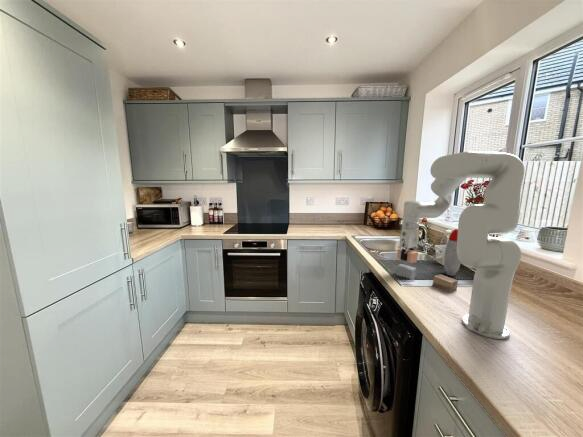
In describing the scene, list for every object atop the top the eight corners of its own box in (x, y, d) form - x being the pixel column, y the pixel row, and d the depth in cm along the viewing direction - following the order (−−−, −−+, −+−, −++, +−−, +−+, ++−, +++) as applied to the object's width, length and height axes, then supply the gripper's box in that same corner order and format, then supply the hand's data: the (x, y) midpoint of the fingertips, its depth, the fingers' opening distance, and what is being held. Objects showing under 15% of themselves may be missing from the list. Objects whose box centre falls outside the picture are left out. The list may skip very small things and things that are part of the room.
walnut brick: (450, 293, 105) (451, 282, 105) (432, 285, 112) (433, 276, 112) (456, 290, 108) (457, 280, 107) (439, 283, 115) (440, 274, 114)
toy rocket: (463, 277, 122) (470, 230, 118) (447, 276, 123) (453, 230, 119) (454, 271, 130) (460, 227, 126) (439, 271, 130) (444, 227, 126)
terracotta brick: (410, 263, 118) (411, 253, 117) (396, 258, 125) (397, 249, 124) (416, 261, 120) (417, 252, 119) (403, 256, 127) (404, 248, 126)
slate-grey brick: (411, 279, 119) (412, 270, 118) (395, 274, 125) (396, 265, 124) (415, 277, 122) (416, 268, 122) (400, 272, 128) (400, 263, 128)
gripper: (407, 228, 112) (404, 264, 115) (426, 224, 121) (422, 258, 124) (393, 225, 118) (390, 260, 121) (412, 222, 127) (409, 254, 130)
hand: (406, 258), depth 122 cm, fingers closed on terracotta brick, 5 cm apart
